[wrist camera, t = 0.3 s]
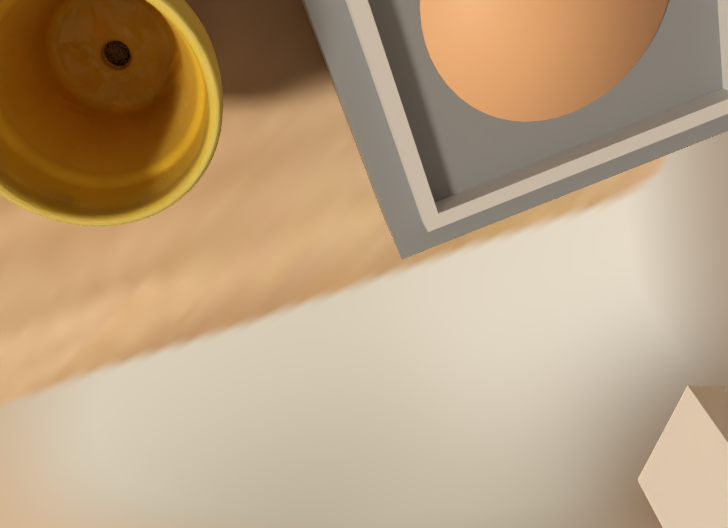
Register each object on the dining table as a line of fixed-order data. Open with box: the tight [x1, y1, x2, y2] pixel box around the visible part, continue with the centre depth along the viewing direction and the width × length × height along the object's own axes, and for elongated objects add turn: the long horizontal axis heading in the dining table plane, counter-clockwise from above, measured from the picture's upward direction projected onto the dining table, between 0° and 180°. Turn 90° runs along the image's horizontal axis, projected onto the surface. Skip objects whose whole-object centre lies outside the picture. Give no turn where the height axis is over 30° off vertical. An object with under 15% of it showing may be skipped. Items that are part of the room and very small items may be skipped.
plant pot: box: [0, 0, 223, 226], centre depth 30 cm, size 10×10×10 cm
